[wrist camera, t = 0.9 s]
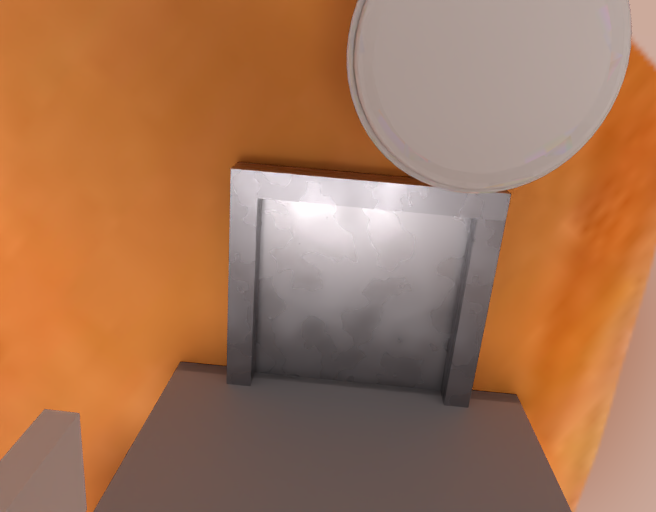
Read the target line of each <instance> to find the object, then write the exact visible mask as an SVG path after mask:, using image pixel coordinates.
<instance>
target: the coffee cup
mask: <svg viewBox="0 0 656 512" xmlns="http://www.w3.org/2000/svg"><path fill="white" fill-rule="evenodd" d="M631 36H632V25H631V11H630V4H629V0H358V1H357V4H356V7H355V10H354V13H353V16H352V20H351V25H350V30H349V34H348V43H347V75H348V83H349V88H350V93H351V97H352V100H353V104H354V107H355V110H356V112H357V115H358V117H359V119H360V121H361V124H362V125H363V127H364V129H365V131H366V132H367V134H368V136H369V137H370V139H371V140H372V141H373V143H374V144H375V145H376V147H377V148H378V149H379V150H380V151H381V152H382V153H383V155H384V156H385V157H386V158H387V159H389V160H390V161H391V162H392V163H393V164H394V165H395V166H397V167H398V168H399V169H401V170H402V171H404V172H405V173H407V174H408V175H410V176H412V177H414V178H415V179H417V180H419V181H421V182H424V183H426V184H429V185H431V186H433V187H437V188H440V189H444V190H448V191H454V192H460V193H475V194H477V193H492V192H498V191H504V190H508V189H512V188H516V187H519V186H522V185H525V184H527V183H530V182H532V181H534V180H536V179H539V178H541V177H543V176H545V175H546V174H548V173H550V172H551V171H553V170H555V169H556V168H558V167H559V166H561V165H562V164H563V163H565V162H566V161H567V160H569V159H570V158H571V157H572V156H573V155H574V154H576V153H577V152H578V151H579V150H580V149H581V148H582V147H583V146H584V145H585V144H586V143H587V142H588V140H589V139H590V138H591V137H592V136H593V135H594V133H595V132H596V131H597V129H598V128H599V127H600V125H601V124H602V123H603V121H604V119H605V118H606V116H607V115H608V113H609V111H610V110H611V108H612V106H613V104H614V102H615V100H616V98H617V96H618V93H619V91H620V88H621V85H622V83H623V80H624V77H625V73H626V69H627V66H628V61H629V55H630V49H631Z"/></svg>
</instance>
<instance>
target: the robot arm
mask: <svg viewBox="0 0 656 512" xmlns="http://www.w3.org/2000/svg"><path fill="white" fill-rule="evenodd" d="M86 510H87V506H86V493H85V480H84V467H83V454H82V441H81V428H80V415H79V413H73V412H65V411H56V410H47V409H44V410H43V412H42V413H41V414H40V415H39V416H38V417H37V419H36V420H35V421H34V422H33V423H32V424H31V426H30V427H29V428H28V429H27V430H26V431H25V433H24V434H23V435H22V436H21V437H20V438H19V440H18V441H17V442H16V443H15V444H14V445H13V446H12V448H11V449H10V450H9V451H8V452H7V453H6V455H5V456H4V457H3V458H2V459H1V460H0V512H86Z"/></svg>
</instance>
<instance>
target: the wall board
mask: <svg viewBox="0 0 656 512" xmlns="http://www.w3.org/2000/svg"><path fill="white" fill-rule="evenodd" d="M94 512H571V510H570V507H569V505H568V503H567V501H566V499H565V497H564V495H563V492H562V490H561V488H560V486H559V484H558V482H557V480H556V478H555V475H554V473H553V471H552V469H551V467H550V465H549V463H548V461H547V458H546V456H545V454H544V452H543V450H542V448H541V446H540V444H539V441H538V439H537V437H536V435H535V433H534V431H533V429H532V426H531V424H530V422H529V420H528V418H527V416H526V414H525V412H524V409H523V407H522V405H521V403H520V401H519V399H518V397H517V395H516V394H506V393H496V392H485V391H475V390H472V392H471V397H470V402H469V407H468V408H466V407H456V406H446V405H444V404H443V400H442V396H441V391H440V390H430V389H420V388H409V387H399V386H389V385H379V384H368V383H358V382H348V381H338V380H328V379H317V378H307V377H297V376H287V375H276V374H266V373H256V372H255V374H254V377H253V380H252V383H251V386H242V385H232V384H227V366H219V365H209V364H199V363H188V362H180V363H179V365H178V367H177V368H176V370H175V372H174V374H173V375H172V377H171V379H170V381H169V382H168V384H167V386H166V387H165V389H164V391H163V393H162V394H161V396H160V398H159V399H158V401H157V403H156V405H155V406H154V408H153V410H152V412H151V413H150V415H149V417H148V418H147V420H146V422H145V424H144V425H143V427H142V429H141V431H140V432H139V434H138V436H137V437H136V439H135V441H134V443H133V444H132V446H131V448H130V449H129V451H128V453H127V455H126V456H125V458H124V460H123V462H122V463H121V465H120V467H119V468H118V470H117V472H116V474H115V475H114V477H113V479H112V481H111V482H110V484H109V486H108V487H107V489H106V491H105V493H104V494H103V496H102V498H101V499H100V501H99V503H98V505H97V506H96V508H95V510H94Z"/></svg>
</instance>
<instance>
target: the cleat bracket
mask: <svg viewBox="0 0 656 512" xmlns="http://www.w3.org/2000/svg"><path fill="white" fill-rule="evenodd" d="M510 197H511V193H509V192H508V191H507V190H504V191H498V192H492V193H477V194H475V193H460V192H454V191H448V190H444V189H440V188H437V187H433V186H431V185H429V184H426V183H424V182H421V181H419V180H417V179H415V178H411V177H400V176H389V175H378V174H367V173H356V172H345V171H334V170H323V169H312V168H301V167H289V166H278V165H267V164H256V163H245V162H238V163H237V164H235V165H234V166H233V167H232V168H231V183H230V233H229V283H228V334H227V384H232V385H242V386H251V383H252V380H253V377H254V374H255V372H256V373H266V374H276V375H287V376H297V377H307V378H317V379H328V380H338V381H348V382H358V383H368V384H379V385H389V386H399V387H409V388H420V389H430V390H440V391H441V396H442V400H443V404H444V405H446V406H456V407H466V408H468V407H469V402H470V397H471V392H472V387H473V382H474V377H475V372H476V367H477V362H478V357H479V352H480V347H481V342H482V337H483V332H484V327H485V322H486V317H487V312H488V307H489V302H490V297H491V292H492V287H493V282H494V277H495V272H496V267H497V262H498V257H499V252H500V247H501V242H502V237H503V232H504V227H505V222H506V217H507V212H508V207H509V202H510Z"/></svg>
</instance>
